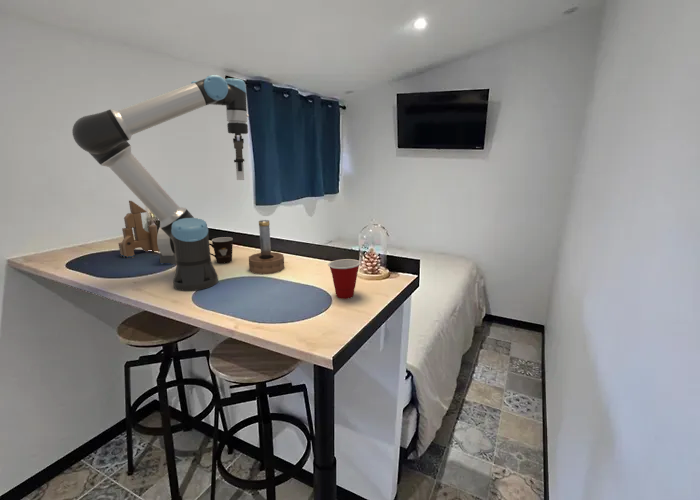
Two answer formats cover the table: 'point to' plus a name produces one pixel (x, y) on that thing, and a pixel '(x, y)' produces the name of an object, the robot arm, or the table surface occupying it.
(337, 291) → the plastic cup
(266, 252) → the metal rod
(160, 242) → the alarm clock
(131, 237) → the wooden toy
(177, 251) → the robot arm
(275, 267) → the brown thick ring
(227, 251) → the coffee mug
